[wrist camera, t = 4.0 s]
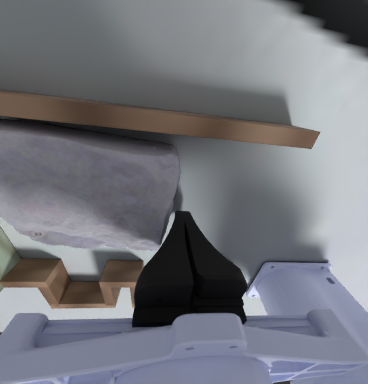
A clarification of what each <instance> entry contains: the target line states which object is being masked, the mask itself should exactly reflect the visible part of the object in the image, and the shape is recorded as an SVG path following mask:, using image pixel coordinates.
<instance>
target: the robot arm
mask: <svg viewBox="0 0 368 384" xmlns="http://www.w3.org/2000/svg"><path fill="white" fill-rule="evenodd" d="M332 268H333V266H332V265H331V264H330V263H288V262H266V263H264V265H263V266H262V268H261V269H260V271H259V273H258V274H257V276H256V278H255V279H254V281H253V283H252V284H251V286H250V288H249V289H248V291H247V292H246V296H247V297H260V299H261V301H262V303H263V306H264V308H265V310H266V312H267V315H268V316H246V315H245V312H244V309H243V305H244V303H243V300H242V296H243V295H244V293H245V291H246V289H247V282H246V280H245V278H244V276H243V274H242V272H241V270H240V268H238V267H237V266H235V265H234V264H233V263H231V262H230V261H229V260H227V259H226V258H225V257H224V256H223V255H222V254H220V253H219V252H218V251H217V250H216V249H215V248H214V247H213V246H212V245H211V243H210V242H209V241H208V240H207V239H206V238H205V236H204V235H203V234H202V232H201V231H200V229H199V228H198V226H197V225H196V223H195V221H194V219H193V217H192V216H191V213H190V212H188V211H176V212H175V219H174V222H173V225H172V227H171V229H170V232H169V234H168V236H167V237H166V239H165V241H164V243H163V244H162V246H161V247H160V249H159V250H158V251H157V253H156V254H155V255H154V256H153V258H152V259H151V260H150V261H149V262H148V263H147V264H146V265H145V266H144V268H143V270H142V271H141V273H140V275H139V278H138V280H137V283H136V286H135V291H134V305H135V308H134V313H133V318H124V319H76V320H48V318H47V316H46V315H45V314H41V313H19V314H16V315H15V316H14V318H13V319H12V321H11V322H10V323H9V325H8V326H7V327H6V329H5V330H4V331H3V333H2V334H1V336H0V384H273V382H280V381H288V380H295V379H296V380H295V381H291V382H290V384H368V313H367V312H366V311H365V309H364V308H363V307H362V306H361V305H360V304H359V303H358V302H357V301H356V300H355V298H354V297H353V296H352V295H351V294H350V293H349V292H348V291H347V290H346V289H345V287H344V286H343V285H342V284H341V283H340V282H339V281H338V280H337V279H336V277H335V276H334V275H333V274H332V273H331V272H330V270H331V269H332Z"/></svg>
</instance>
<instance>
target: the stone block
mask: <svg viewBox="0 0 368 384" xmlns="http://www.w3.org/2000/svg"><path fill="white" fill-rule="evenodd" d="M179 179H180V163H179V154H178V152H177V150H176V148H175V147H174V146H172V145H170V144H163V143H159V142H153V141H145V140H139V139H134V138H127V137H120V136H115V135H109V134H103V133H96V132H90V131H85V130H78V129H72V128H64V127H58V126H52V125H47V124H41V123H36V122H29V121H23V120H8V119H0V217H2V218H3V219H4V220H6V221H7V222H8V223H9V224H11V225H12V226H13V227H14V228H15V230H16V231H18V232H19V233H20V234H23V235H26V236H29V237H30V238H31V239H32V240H35V241H38V242H41V243H43V244H46V245H50V246H56V245H64V246H70V247H74V248H98V247H103V246H107V247H113V248H127V247H128V248H131V249H135V250H151V251H152V250H157V249H158V248H159V247H160V246H161V244H162V240H163V238H164V235H165V233H166V229H167V225H168V222H169V217H170V215H171V213H172V209H173V206H174V202H173V199H174V196H175V193H176V189H177V185H178V182H179Z"/></svg>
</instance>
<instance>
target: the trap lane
mask: <svg viewBox="0 0 368 384" xmlns="http://www.w3.org/2000/svg"><path fill="white" fill-rule="evenodd" d="M0 116H8V117H17V118H27V119H36V120H46V121H55V122H64V123H74V124H83V125H92V126H102V127H111V128H120V129H130V130H139V131H148V132H158V133H167V134H177V135H186V136H195V137H205V138H214V139H223V140H233V141H242V142H251V143H261V144H270V145H280V146H289V147H298V148H308V149H312V147H313V145H314V143H315V141H316V139H317V137H318V136H319V134H320V132H318V131H314V130H309V129H305V128H300V127H296V126H291V125H283V124H275V123H267V122H258V121H250V120H242V119H234V118H226V117H218V116H210V115H201V114H193V113H185V112H177V111H169V110H161V109H153V108H145V107H136V106H128V105H120V104H112V103H104V102H96V101H88V100H80V99H71V98H63V97H55V96H47V95H39V94H31V93H23V92H14V91H6V90H0ZM231 263H233V262H231ZM142 270H143V261H133V260H108V261H107V263H106V266H105V268H104V271H103V273H102V276H101V278H100V280H99V282H71V280H70V278H69V276H68V273H67V271H66V269H65V267H64V265H63V263H62V260H61V259H22V258H21V257H20V256H19V254H18V253H17V251H16V250H15V248H14V247H13V245H12V244H11V242H10V241H9V239H8V238H7V236H6V235H5V233H4V232H3V230H2V229H1V227H0V292H1V290H2V289H3V288H4V287H38V289H39V290H40V292H41V293H42V295H43V296H44V297H45V299H46V300H47V302H48V303H49V305H50V306H51V308H52V309H54V308H115V307H116V303H117V300H118V296H119V292H120V289H121V287H130V292H131V300H132V307H135V305H134V291H135V286H136V283H137V280H138V278H139V275H140V273H141V271H142Z"/></svg>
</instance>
